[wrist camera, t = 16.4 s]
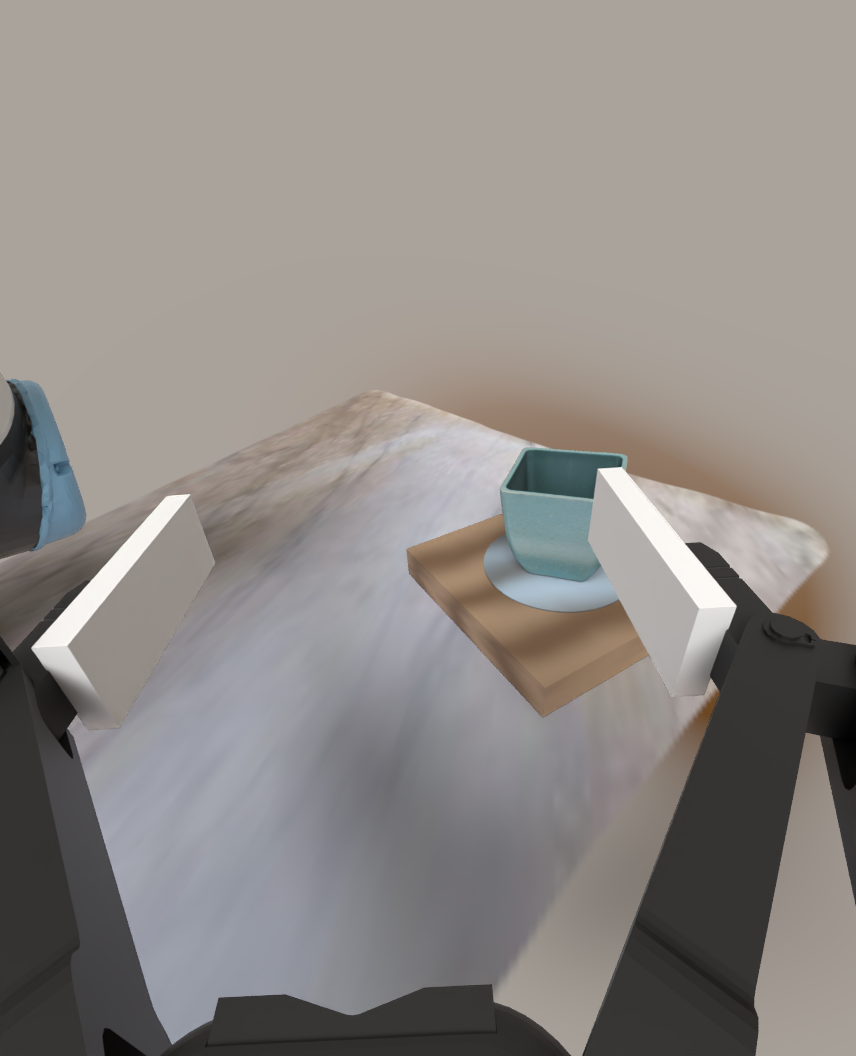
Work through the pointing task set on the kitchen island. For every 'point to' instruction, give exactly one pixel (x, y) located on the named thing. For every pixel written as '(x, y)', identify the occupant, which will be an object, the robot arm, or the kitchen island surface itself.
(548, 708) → the walnut plinth
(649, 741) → the kitchen island surface
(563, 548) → the flower pot
